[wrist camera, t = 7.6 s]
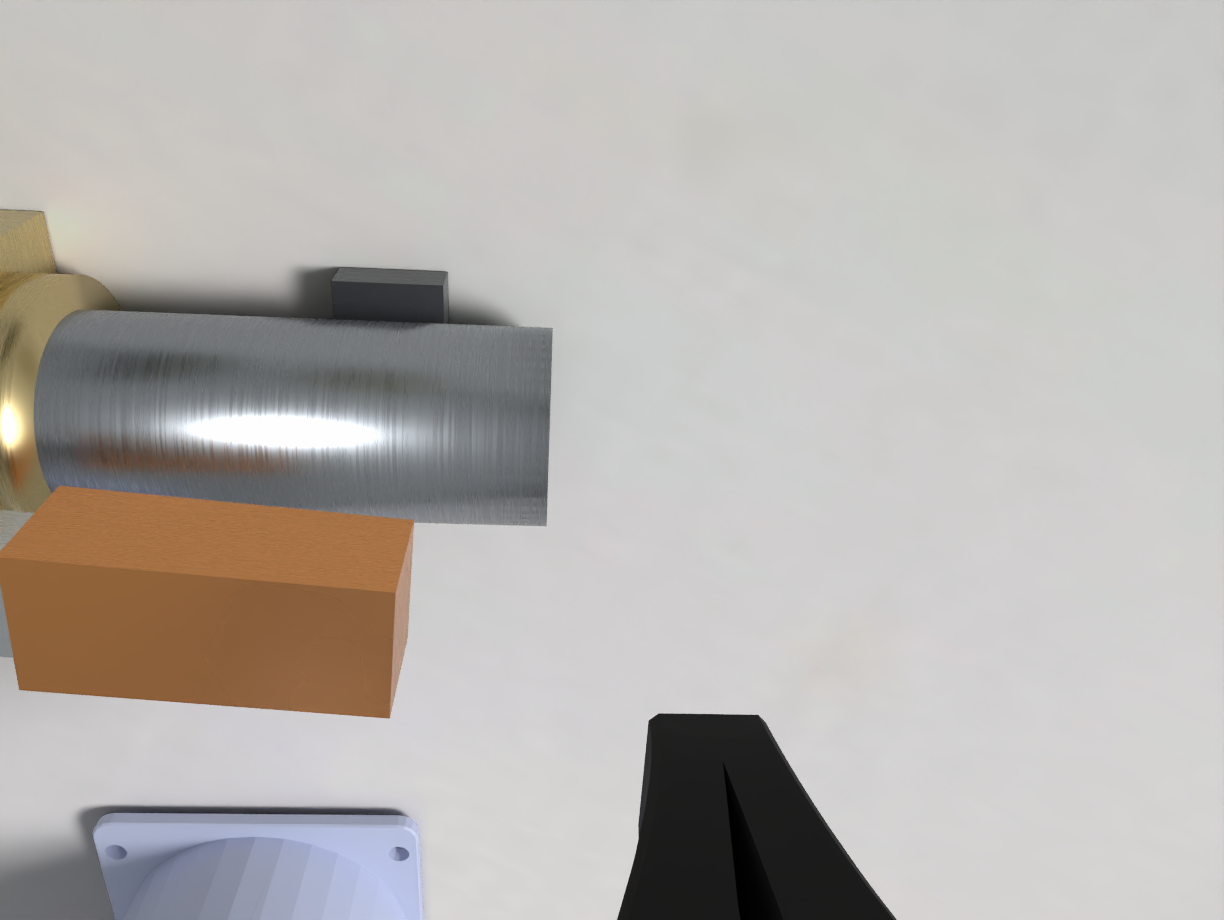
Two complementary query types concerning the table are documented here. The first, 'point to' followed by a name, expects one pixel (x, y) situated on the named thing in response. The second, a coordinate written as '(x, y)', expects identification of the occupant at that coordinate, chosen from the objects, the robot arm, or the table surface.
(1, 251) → the valve pipe
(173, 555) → the valve lever
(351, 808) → the table surface
